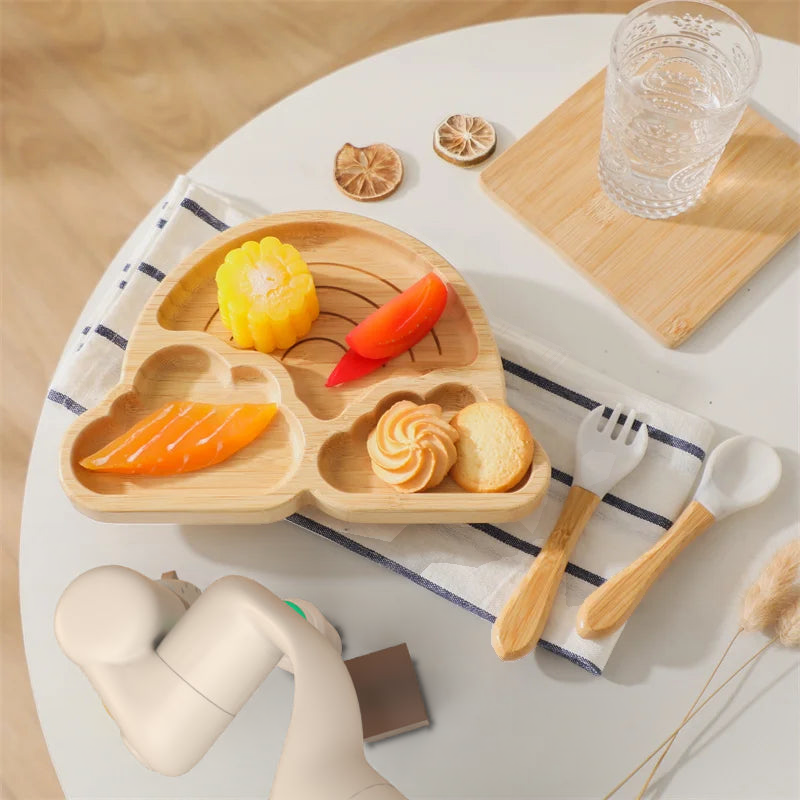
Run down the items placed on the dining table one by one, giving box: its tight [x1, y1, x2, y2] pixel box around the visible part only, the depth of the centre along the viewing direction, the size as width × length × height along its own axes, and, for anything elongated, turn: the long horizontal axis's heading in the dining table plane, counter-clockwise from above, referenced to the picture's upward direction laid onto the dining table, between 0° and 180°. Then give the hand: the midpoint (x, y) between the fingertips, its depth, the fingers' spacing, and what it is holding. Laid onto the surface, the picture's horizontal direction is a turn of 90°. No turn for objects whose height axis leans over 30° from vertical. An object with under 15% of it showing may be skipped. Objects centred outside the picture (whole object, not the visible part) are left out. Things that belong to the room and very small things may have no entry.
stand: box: [343, 642, 430, 743], centre depth 95 cm, size 7×7×26 cm
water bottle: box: [275, 597, 343, 675], centre depth 98 cm, size 7×7×25 cm
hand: (200, 651), depth 92 cm, fingers closed on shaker, 4 cm apart
